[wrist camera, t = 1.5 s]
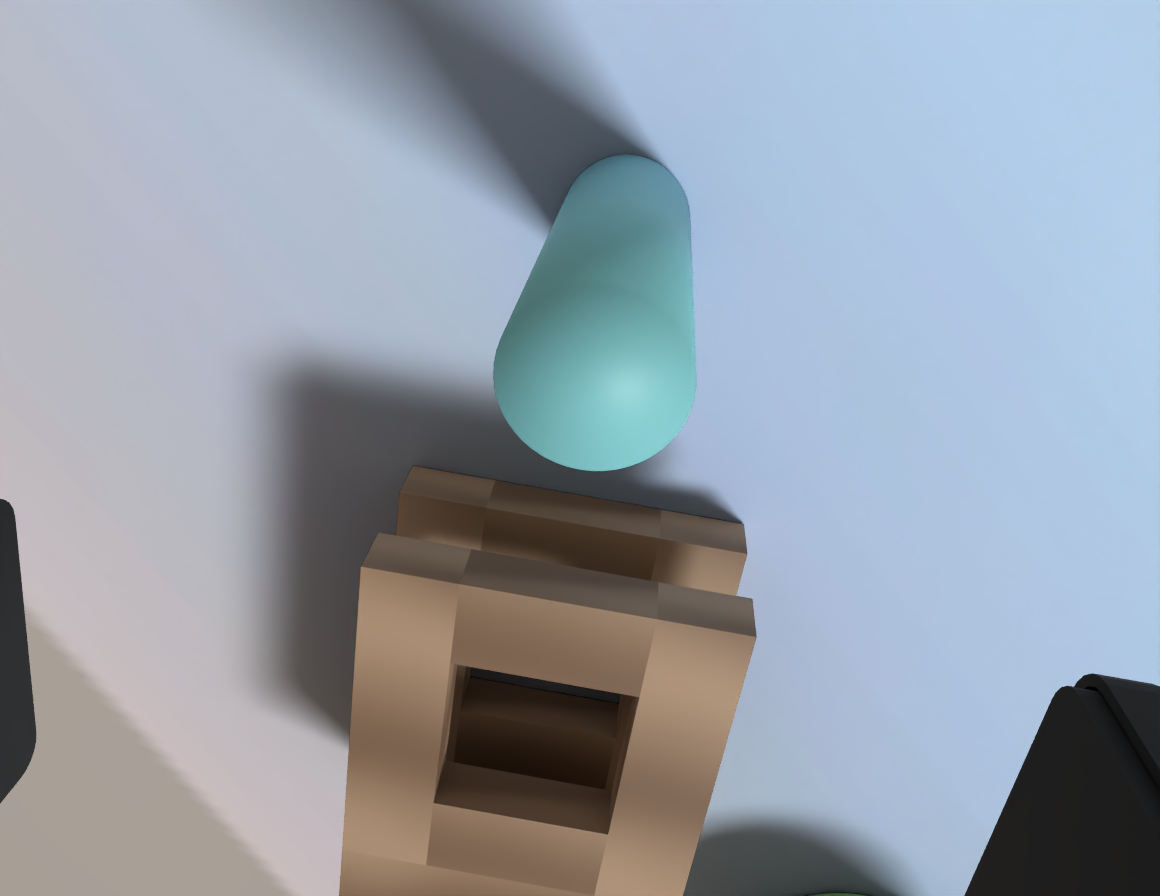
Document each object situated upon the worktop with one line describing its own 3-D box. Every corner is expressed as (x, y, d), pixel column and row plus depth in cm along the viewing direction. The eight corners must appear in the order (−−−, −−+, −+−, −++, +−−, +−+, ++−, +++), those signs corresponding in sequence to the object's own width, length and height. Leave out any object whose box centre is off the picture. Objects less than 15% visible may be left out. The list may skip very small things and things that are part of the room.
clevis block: (413, 465, 27) (360, 566, 23) (743, 524, 27) (756, 636, 23) (386, 769, 32) (338, 901, 28) (666, 820, 32) (663, 961, 28)
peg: (572, 143, 23) (505, 265, 14) (701, 166, 23) (715, 301, 14) (553, 270, 25) (482, 452, 16) (676, 291, 25) (674, 486, 16)
